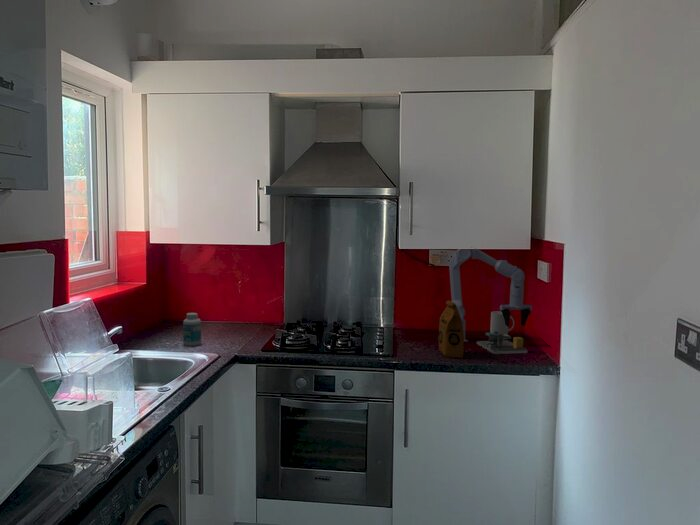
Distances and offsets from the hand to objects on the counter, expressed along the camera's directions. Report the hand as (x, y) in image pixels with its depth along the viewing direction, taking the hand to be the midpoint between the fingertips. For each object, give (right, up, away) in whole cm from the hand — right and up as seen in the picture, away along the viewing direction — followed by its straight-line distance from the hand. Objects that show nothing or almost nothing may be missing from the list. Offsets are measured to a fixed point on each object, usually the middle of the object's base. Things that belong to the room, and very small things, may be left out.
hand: (515, 325), depth 240 cm
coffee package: (-32, -10, -18) cm, 38 cm away
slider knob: (-2, -8, -11) cm, 14 cm away
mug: (-2, -8, +15) cm, 17 cm away
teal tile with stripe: (-8, -4, -1) cm, 9 cm away
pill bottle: (-143, -7, -9) cm, 143 cm away
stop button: (-12, -6, -7) cm, 15 cm away
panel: (-8, -9, -6) cm, 14 cm away
